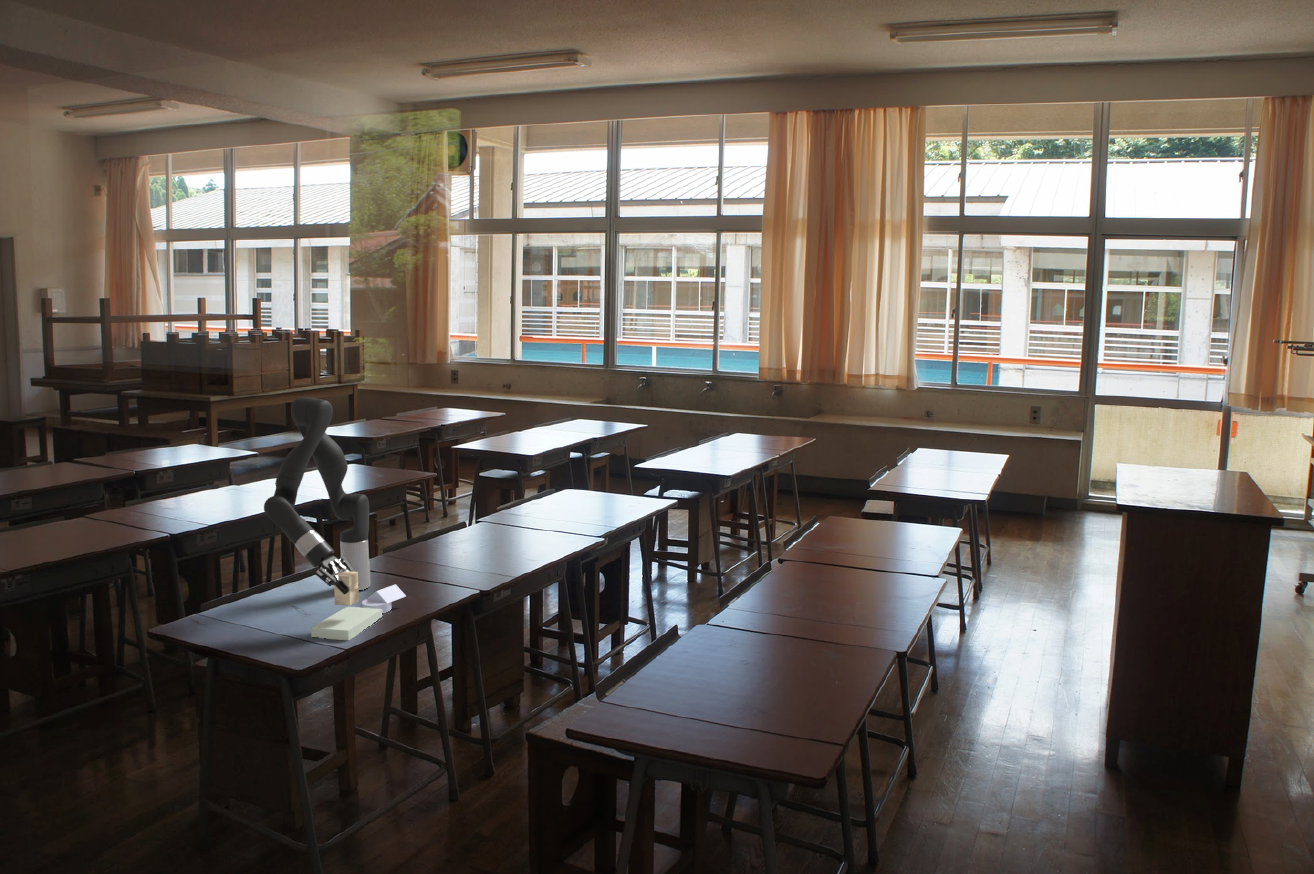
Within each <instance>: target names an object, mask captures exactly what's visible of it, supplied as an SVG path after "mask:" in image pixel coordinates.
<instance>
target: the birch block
mask: <svg viewBox="0 0 1314 874" xmlns="http://www.w3.org/2000/svg"><path fill="white" fill-rule="evenodd" d="M338 577H339V578H340V579H341V581H343V582H344V584H345V585H346V586H347V587H348V588H349V591H348V592H347V593H346V594H343V593H342V592H341V591H340V590H339V589H338V588H337V587H336V586H334V585H333V587H334V590H333V591H334V605H339V606H346V607H351V606H352V605H354V604H355V603H358V602H359V601H360V597H359V596H360V595H359V592H360V591H358V572H351V571H342V572H341V571H340V573H339V574H338ZM334 578H335V577H334ZM335 579H336V578H335Z"/></svg>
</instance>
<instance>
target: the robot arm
mask: <svg viewBox="0 0 1314 874" xmlns="http://www.w3.org/2000/svg"><path fill="white" fill-rule="evenodd" d="M290 411H291V417H292V420H293V422H294V424H295V425H296V427H297V429H298V431H299V433H300V434H301V436H302V437H303V439H302V440H301V441H300V442H299V443H298V444H297V445H296V446H295V447H294V448H293V449H292V450H291V451H290V452H289V453H288V454H287V455H286V456H285V457H284V459H283V461H282V462H281V465H280V468H279V471H278V473H277V476H276V479H275V484H274V485H275V490H274V494H273V496H270V497H268V498H267V499H265V502H264V505H263V511H264V514H265V515H266V517H268V518H269V519H270V520H271V522H273V523H274V525H276V526H277V527H278V528H279V529H280V530H281V531H282V532H283V533H284V534H285V535H286V537H287V538H288V539H289V541H290V542H291V543H292V544H293V545H294V546H295V547H296V549H297V551H299V552H300V554H301V555H302V556H303V557H304V558H305V559H306V560H307V562H308V563H309V564H311V566H312V567H313V568H318V569H317V570H316V571H315V573H314V574H315V576H316V577H318V578H319V579H320V580H321V581H322V582H324V583H325V584H326V585H327V586H328V587H332V586H333V587H334V586H336V587H337V588H338V589H339V590H340V591H341V592H342V593H343V594H346V593H347V592H348V591H349V588H348V587H347V586H346V585H345V584H344V582H343V581H341V579H340V578H339V577H338V574H339V573H340V572H342V571H351V572H358V591H359V590H363V591H365V590H364V589H366V588H368V587H369V586H370V587H371V585H370V584H371V583H372V582H371V562H370V561H371V560H370V557H369V556H370V554H369V553H370V552H369V549H370V548H369V531H370V501H369V498H368V496H367V495H366V494H362V493H346V492H345V490H344V489H343V482H344V479H345V477H346V475H347V473H348V468H349V467H348V462H347V459H346V457H345V454H344V452H343V450H342V448H341V446H340V445H339V444H338V443H337V442H336V441H335V440H334V439H332V437H331V436H329V434H327V432H326V431H327V429H328V427H329V426H330V423H331V421H332V418H333V411H334V410H333V406H332V404H331V403H330V402H329V401H328V400H326V399H321V398H316V397H309V396H299V397H297V398H295V399H294V401H293V402H292V404H291V408H290ZM311 458H313V461H314V464H315V467H316V468H317V471H318V473H319V475H320V477H321V479H322V481H323V482H322V483H323V484H324V487H325V489H326V493H327V495H328V499H329V502H330V505H331V508H332V511H333V512H332V513H333V514H334V516H335V517H336V519H337V520H341V521H352V522H353V526H352V527H351V528H348V529H344V530H343V531H341V532H340V534H339V547H340V549H339V550H340V558H338V557H336V556H335V555H334V553H335V550H334V548H333V547H332V546H331V545H330V544H329V543H328V542H327V541H326V540H325V538H323V536H321V535H320V533H318V532H317V531H316V530H315V529H314V528H313V527H312V526H311V525H310V524H309V522H308V521H306V520H305V519H304V517H302V516H300V515H299V514H298V512H297V511H296V510H295V506H296V501H297V497H298V491H299V488H300V485H301V483H302V481H303V478H304V476H305V472H306V469H307V467H308V464H309V462H310V461H311ZM334 577H335V578H336V579H335V578H334ZM368 589H369V588H368ZM366 590H367V589H366ZM359 592H360V591H359Z"/></svg>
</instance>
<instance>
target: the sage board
mask: <svg viewBox="0 0 1314 874" xmlns="http://www.w3.org/2000/svg"><path fill="white" fill-rule="evenodd" d="M382 616H384V615H382V609H374V608H362V607H360V606H359V607H358V606H346V607H344V608H342V609H340V610H339V611H337V612H336V613H334V614H331V615H330V616H329V617H326V618H325V619H323V620H322V621H320V622H318V623H316V624H315V625H313V626H312V627H310V631H311V632H310V633H311V638H312V637H319V638H318V639H324V638H326V640H336V641H337V640H339V641H350V640H352V639H353V638H355V637H357V636H358V635H360V634H361V633H363V632H364V631H365V630H364V629H366V628H367V627H368V626H370V627H371V625H372V624H373V623H374V622H376V621H377V620H378V619H379V618H381V617H382ZM376 623H377V622H376ZM373 625H374V624H373ZM373 625H372V626H373ZM367 629H368V628H367ZM367 629H366V630H367ZM363 630H364V631H363ZM362 631H363V632H362ZM360 632H361V633H360ZM359 633H360V634H359Z"/></svg>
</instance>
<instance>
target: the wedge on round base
mask: <svg viewBox="0 0 1314 874" xmlns="http://www.w3.org/2000/svg"><path fill="white" fill-rule="evenodd" d="M405 597H407V595H406V594H405V593H404V592H403V591H402V590H401V589H400V588H399V586H398V585H397V584H396V583H395V584H393V585H390V586H387V587H384V588H382V589H379V590H376V591H375V592H373V593H372V594H371V595H370V596H368V598H366V599H363V600H362V602H361V606H362V607H361V608H374V609H382V613H386V612H388V611H390V610H391V609H392V610H393V607H392V606H393V605H392V602H395V601H398V600H400V599H403V598H405Z"/></svg>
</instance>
